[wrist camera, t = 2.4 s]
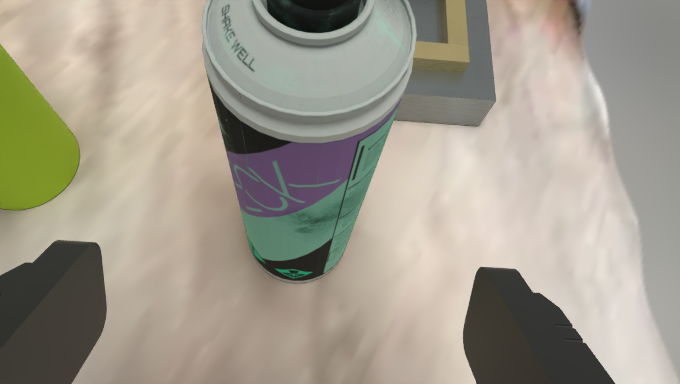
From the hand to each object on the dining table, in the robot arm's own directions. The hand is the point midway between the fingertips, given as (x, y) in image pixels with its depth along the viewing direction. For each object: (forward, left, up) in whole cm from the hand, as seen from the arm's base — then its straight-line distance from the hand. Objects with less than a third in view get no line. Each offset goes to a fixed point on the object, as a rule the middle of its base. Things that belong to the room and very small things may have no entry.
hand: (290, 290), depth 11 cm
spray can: (0, +6, -17) cm, 18 cm away
